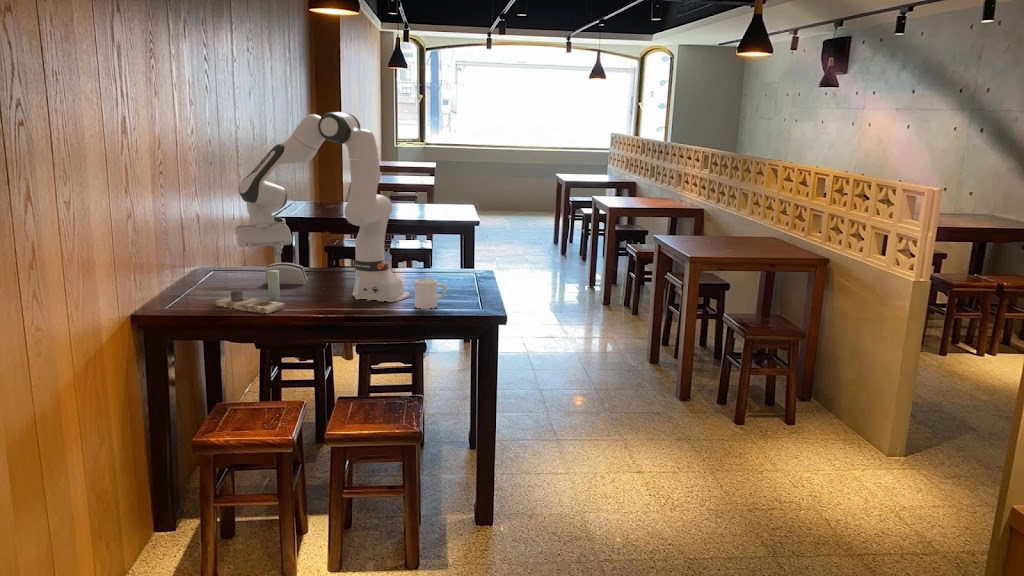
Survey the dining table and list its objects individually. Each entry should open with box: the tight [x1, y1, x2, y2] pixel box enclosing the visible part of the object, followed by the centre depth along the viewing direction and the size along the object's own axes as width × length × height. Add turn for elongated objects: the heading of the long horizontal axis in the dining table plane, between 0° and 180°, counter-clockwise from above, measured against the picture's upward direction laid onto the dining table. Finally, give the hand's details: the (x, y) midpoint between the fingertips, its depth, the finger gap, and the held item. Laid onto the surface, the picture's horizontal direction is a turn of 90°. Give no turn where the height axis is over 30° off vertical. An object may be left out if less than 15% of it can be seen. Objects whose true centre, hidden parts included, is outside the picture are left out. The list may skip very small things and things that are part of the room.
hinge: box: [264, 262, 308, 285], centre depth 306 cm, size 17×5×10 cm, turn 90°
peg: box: [267, 270, 281, 302], centre depth 273 cm, size 4×4×12 cm
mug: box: [414, 278, 448, 310], centre depth 273 cm, size 8×12×10 cm
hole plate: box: [214, 290, 286, 315], centre depth 267 cm, size 24×9×5 cm, turn 67°
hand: (267, 253), depth 282 cm, fingers open, 8 cm apart
